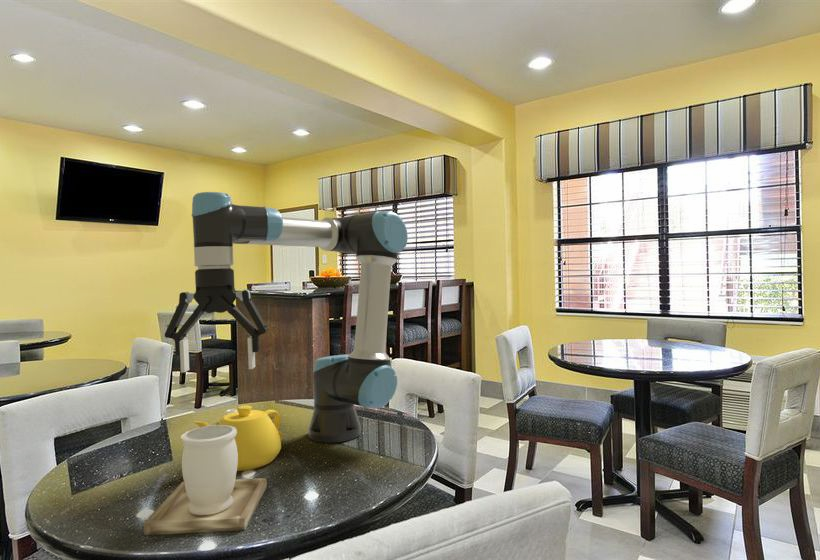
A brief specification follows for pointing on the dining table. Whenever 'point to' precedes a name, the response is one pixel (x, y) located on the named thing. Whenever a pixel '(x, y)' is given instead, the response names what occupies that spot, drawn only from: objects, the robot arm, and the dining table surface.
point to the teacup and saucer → (230, 411)
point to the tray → (179, 519)
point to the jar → (209, 468)
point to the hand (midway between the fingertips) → (218, 369)
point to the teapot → (253, 436)
